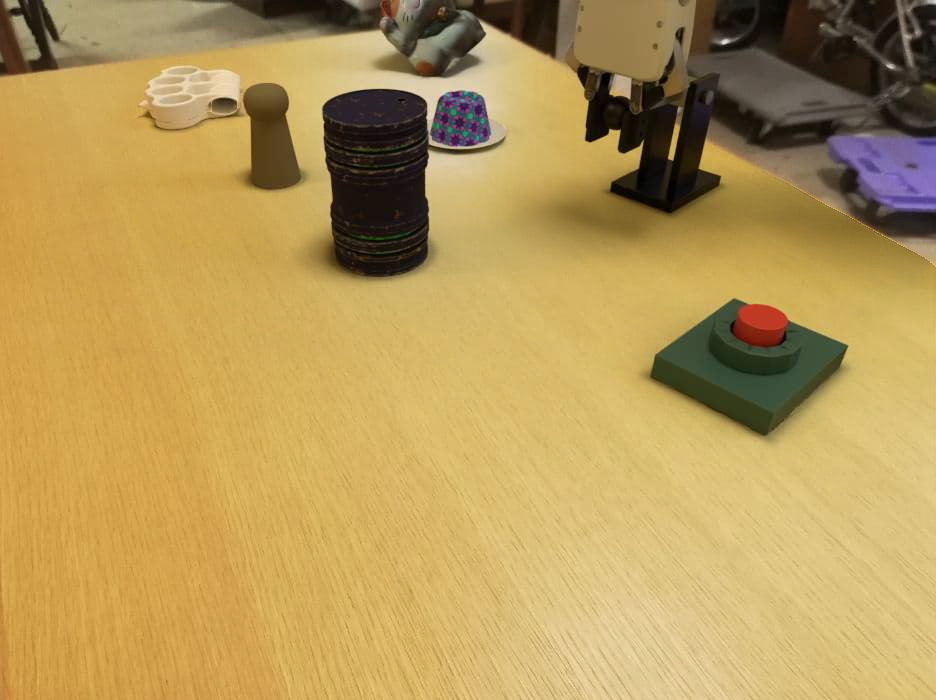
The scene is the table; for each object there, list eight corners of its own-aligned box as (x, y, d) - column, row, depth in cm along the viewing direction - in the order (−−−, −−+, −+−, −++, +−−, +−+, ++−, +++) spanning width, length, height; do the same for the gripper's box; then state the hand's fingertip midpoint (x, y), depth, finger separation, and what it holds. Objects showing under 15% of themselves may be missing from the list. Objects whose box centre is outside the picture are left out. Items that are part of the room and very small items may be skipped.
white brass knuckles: (240, 124, 110) (134, 133, 109) (242, 83, 124) (148, 90, 122) (236, 100, 108) (128, 108, 107) (239, 61, 122) (143, 68, 120)
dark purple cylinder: (362, 287, 76) (352, 135, 66) (317, 246, 82) (302, 102, 73) (448, 258, 79) (450, 110, 70) (398, 221, 86) (394, 81, 76)
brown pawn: (310, 173, 97) (301, 81, 89) (281, 192, 93) (268, 98, 86) (271, 164, 99) (259, 74, 92) (241, 182, 95) (226, 90, 88)
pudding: (524, 134, 104) (527, 94, 101) (466, 162, 98) (467, 120, 94) (455, 114, 111) (455, 75, 107) (396, 139, 104) (395, 99, 101)
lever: (618, 137, 76) (625, 103, 74) (592, 128, 78) (597, 95, 76) (700, 107, 84) (708, 76, 82) (674, 100, 86) (681, 70, 84)
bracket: (670, 213, 86) (695, 94, 77) (609, 191, 90) (627, 76, 82) (719, 185, 91) (747, 70, 82) (659, 166, 95) (680, 55, 87)
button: (767, 354, 60) (773, 335, 59) (723, 334, 62) (729, 316, 61) (790, 335, 61) (796, 316, 60) (747, 316, 64) (753, 298, 62)
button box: (765, 435, 58) (781, 393, 56) (650, 376, 64) (659, 335, 61) (839, 367, 64) (856, 326, 61) (728, 318, 70) (739, 279, 67)
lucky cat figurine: (435, 83, 121) (391, -6, 115) (397, 95, 131) (354, 14, 125) (501, 33, 125) (461, -55, 119) (459, 49, 135) (420, -31, 129)
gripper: (758, -61, 64) (706, 156, 76) (594, -83, 74) (570, 114, 85) (709, -47, 60) (662, 179, 72) (542, -72, 70) (525, 132, 82)
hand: (612, 142), depth 79 cm, fingers closed on lever, 3 cm apart
